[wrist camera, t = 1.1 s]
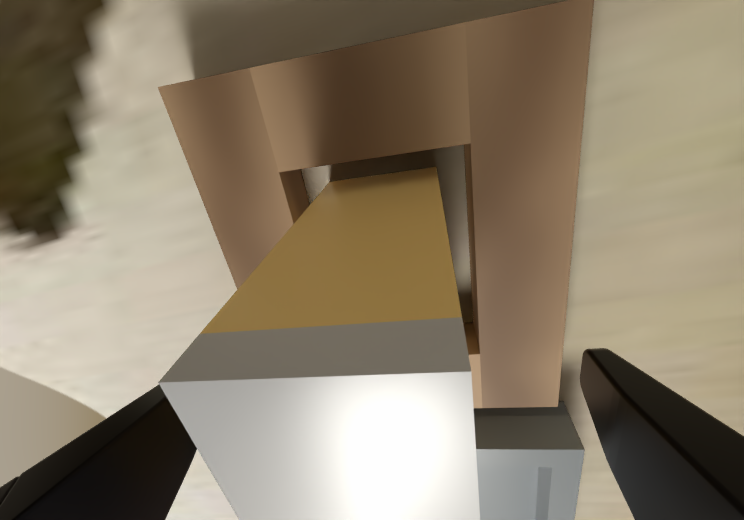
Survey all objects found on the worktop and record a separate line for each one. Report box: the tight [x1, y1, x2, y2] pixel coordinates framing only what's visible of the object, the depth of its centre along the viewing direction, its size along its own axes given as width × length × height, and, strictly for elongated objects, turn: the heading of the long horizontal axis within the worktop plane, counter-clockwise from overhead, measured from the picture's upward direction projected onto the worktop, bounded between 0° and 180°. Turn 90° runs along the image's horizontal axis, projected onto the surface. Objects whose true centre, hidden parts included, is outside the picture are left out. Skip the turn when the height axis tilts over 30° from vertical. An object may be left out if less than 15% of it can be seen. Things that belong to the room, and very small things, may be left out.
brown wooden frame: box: [158, 0, 594, 408], centre depth 13 cm, size 12×14×2 cm
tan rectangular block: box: [158, 167, 480, 520], centre depth 10 cm, size 4×6×10 cm, turn 10°
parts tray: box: [474, 401, 584, 520], centre depth 21 cm, size 16×16×2 cm
